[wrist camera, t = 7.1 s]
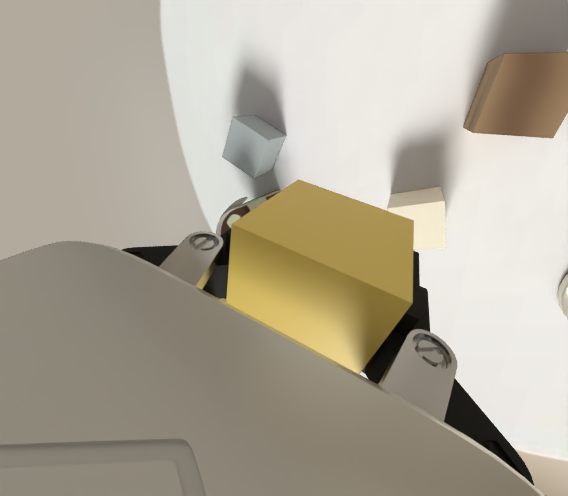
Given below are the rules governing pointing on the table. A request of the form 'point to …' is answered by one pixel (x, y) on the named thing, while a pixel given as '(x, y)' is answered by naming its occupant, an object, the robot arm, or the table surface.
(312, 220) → the mustard cube
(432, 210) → the cream cube
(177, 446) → the robot arm
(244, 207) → the food container
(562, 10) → the table surface
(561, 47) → the table surface
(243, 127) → the slate cube
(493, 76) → the walnut cube
